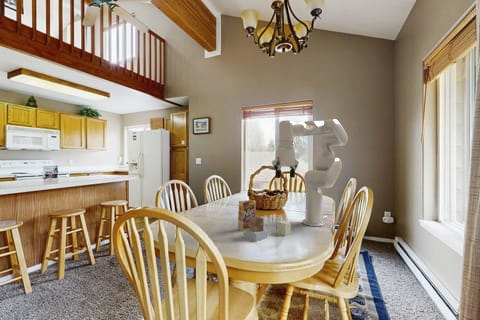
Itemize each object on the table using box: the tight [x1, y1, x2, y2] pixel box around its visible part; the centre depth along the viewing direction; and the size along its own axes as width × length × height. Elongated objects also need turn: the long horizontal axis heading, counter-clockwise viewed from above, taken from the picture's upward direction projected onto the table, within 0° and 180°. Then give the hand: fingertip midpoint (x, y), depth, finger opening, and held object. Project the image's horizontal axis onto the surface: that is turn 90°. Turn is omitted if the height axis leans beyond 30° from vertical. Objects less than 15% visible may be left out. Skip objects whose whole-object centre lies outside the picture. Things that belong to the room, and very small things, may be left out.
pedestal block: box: [243, 228, 268, 243], centre depth 111 cm, size 8×8×4 cm
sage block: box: [276, 219, 292, 237], centre depth 118 cm, size 5×5×6 cm
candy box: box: [237, 199, 257, 232], centre depth 124 cm, size 9×4×15 cm, turn 123°
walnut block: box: [249, 215, 264, 232], centre depth 111 cm, size 5×5×6 cm
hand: (285, 177), depth 120 cm, fingers open, 9 cm apart
